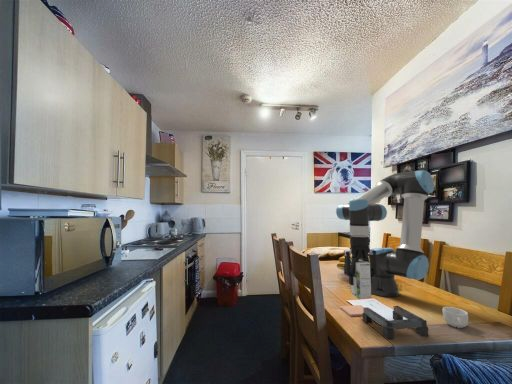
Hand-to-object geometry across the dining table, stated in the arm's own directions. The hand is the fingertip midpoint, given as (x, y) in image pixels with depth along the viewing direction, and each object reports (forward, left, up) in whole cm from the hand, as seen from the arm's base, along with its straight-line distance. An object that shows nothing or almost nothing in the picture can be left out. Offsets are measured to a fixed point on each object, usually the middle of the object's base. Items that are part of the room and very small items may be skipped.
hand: (361, 292), depth 105 cm
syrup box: (0, 0, -2) cm, 2 cm away
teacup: (-30, +14, -10) cm, 34 cm away
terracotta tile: (0, -4, -9) cm, 10 cm away
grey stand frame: (-6, +12, -9) cm, 16 cm away
